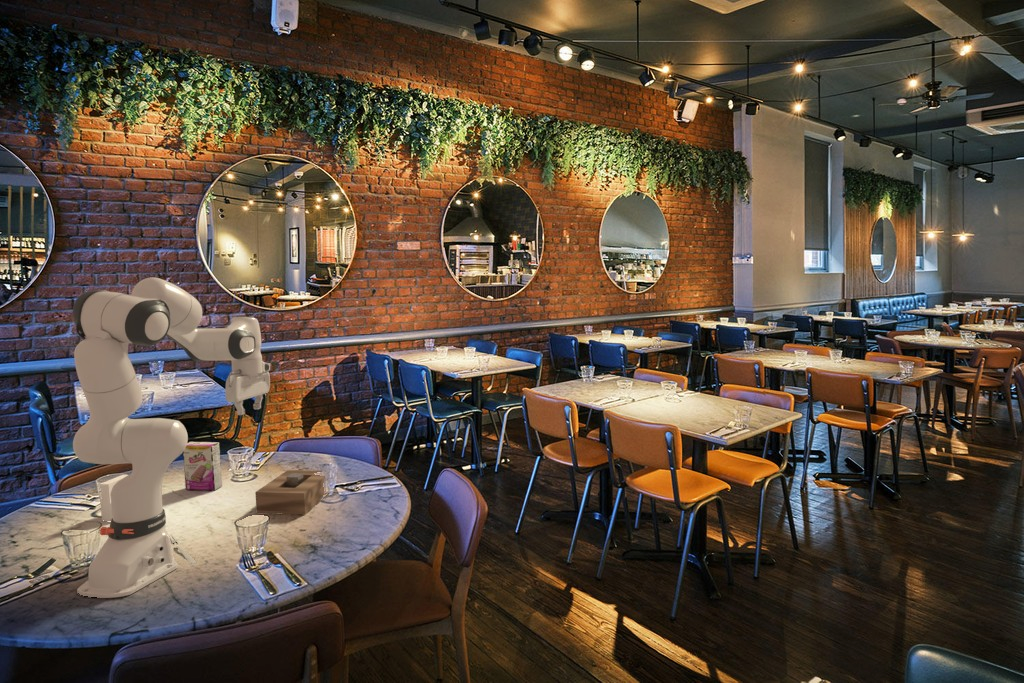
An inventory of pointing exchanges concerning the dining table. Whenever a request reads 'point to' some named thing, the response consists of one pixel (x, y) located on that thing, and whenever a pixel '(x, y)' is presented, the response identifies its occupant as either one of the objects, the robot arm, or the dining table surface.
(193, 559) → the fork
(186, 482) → the candy bar box
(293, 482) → the gray rectangular block
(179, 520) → the dining table surface
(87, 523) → the dining table surface
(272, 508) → the walnut well
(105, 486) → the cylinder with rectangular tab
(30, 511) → the dining table surface
